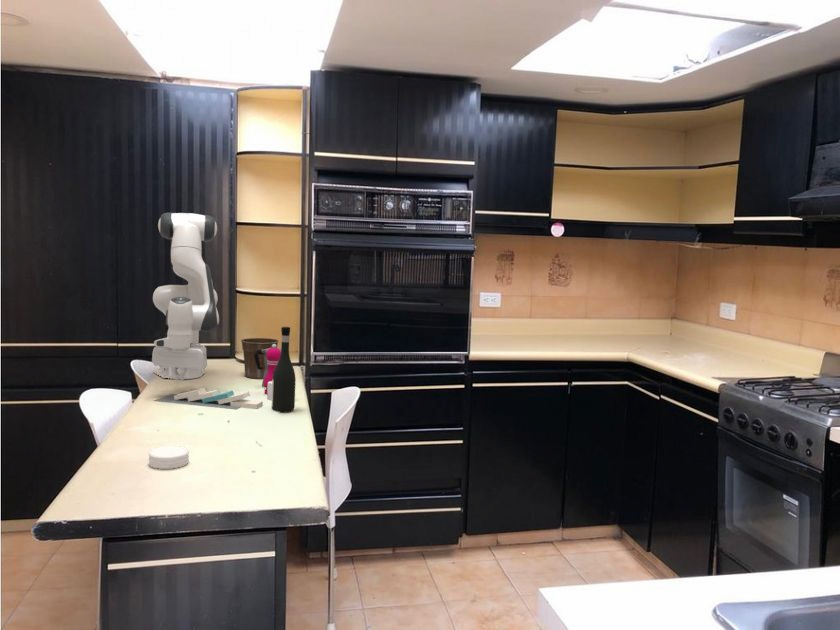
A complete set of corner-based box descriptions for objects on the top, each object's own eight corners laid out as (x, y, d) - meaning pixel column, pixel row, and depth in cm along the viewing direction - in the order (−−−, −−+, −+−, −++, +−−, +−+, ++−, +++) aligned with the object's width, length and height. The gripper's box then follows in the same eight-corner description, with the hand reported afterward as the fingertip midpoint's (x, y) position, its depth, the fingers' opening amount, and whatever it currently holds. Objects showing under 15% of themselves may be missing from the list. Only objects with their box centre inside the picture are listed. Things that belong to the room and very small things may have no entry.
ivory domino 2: (187, 397, 242) (211, 392, 240) (194, 394, 247) (218, 389, 245) (188, 401, 242) (213, 396, 240) (195, 398, 247) (219, 393, 245)
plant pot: (237, 373, 298) (237, 337, 296) (273, 372, 305) (274, 337, 303) (243, 380, 284) (244, 343, 282) (281, 379, 290) (282, 342, 289)
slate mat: (153, 401, 240) (153, 400, 240) (171, 394, 252) (171, 393, 252) (236, 410, 235) (236, 409, 235) (251, 403, 247) (251, 401, 246)
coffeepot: (281, 382, 284) (283, 340, 283) (292, 386, 277) (294, 344, 275) (248, 385, 275) (249, 342, 273) (258, 390, 267) (259, 345, 266)
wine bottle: (266, 410, 237) (269, 326, 234) (281, 406, 244) (284, 325, 241) (284, 414, 234) (287, 329, 230) (298, 409, 241) (302, 327, 237)
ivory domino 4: (230, 401, 239) (256, 404, 237) (236, 398, 244) (262, 401, 242) (230, 406, 239) (256, 408, 237) (236, 403, 244) (262, 405, 242)
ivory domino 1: (173, 396, 243) (197, 390, 241) (180, 393, 248) (204, 387, 246) (174, 400, 243) (199, 394, 241) (182, 397, 248) (205, 391, 246)
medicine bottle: (279, 403, 248) (280, 372, 246) (266, 400, 252) (267, 369, 251) (293, 400, 253) (294, 369, 252) (281, 397, 258) (282, 366, 256)
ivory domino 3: (217, 400, 240) (242, 394, 238) (224, 397, 245) (248, 391, 243) (218, 404, 240) (243, 398, 238) (225, 401, 245) (250, 395, 243)
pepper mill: (277, 397, 258) (279, 346, 256) (259, 395, 259) (261, 344, 257) (284, 393, 265) (286, 343, 263) (267, 391, 266) (269, 341, 264)
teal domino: (201, 398, 241) (226, 393, 239) (208, 396, 246) (232, 390, 244) (202, 403, 241) (227, 397, 239) (209, 400, 246) (234, 394, 244)
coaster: (175, 455, 185) (176, 443, 185) (196, 464, 179) (196, 451, 179) (141, 463, 178) (141, 450, 177) (161, 473, 171) (161, 459, 171)
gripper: (210, 343, 244) (209, 380, 246) (159, 338, 248) (159, 375, 249) (202, 345, 238) (201, 383, 239) (149, 341, 242) (149, 378, 243)
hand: (179, 379), depth 244 cm, fingers closed
